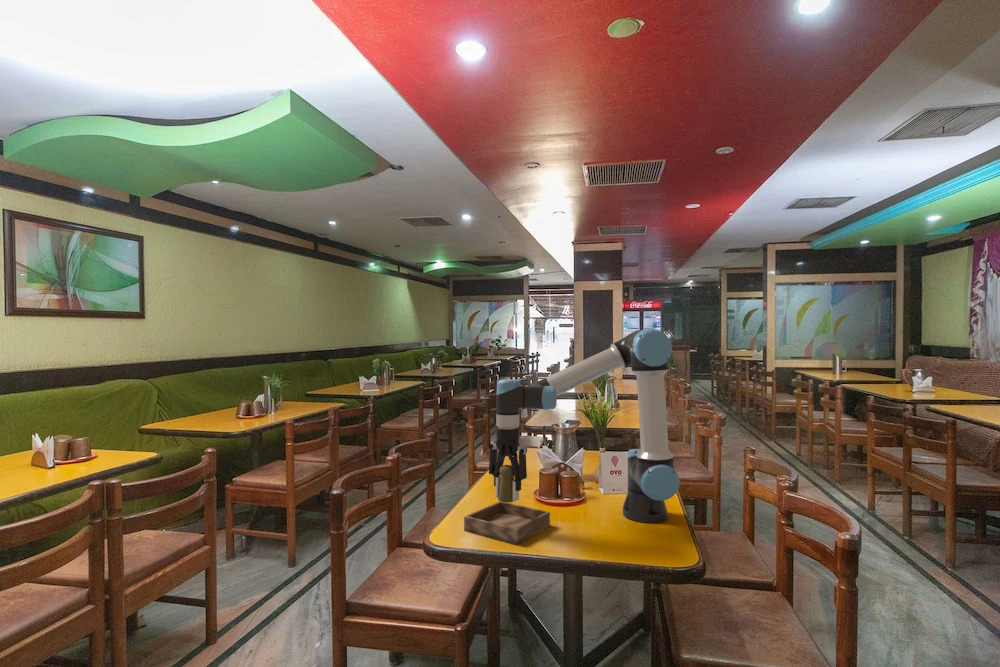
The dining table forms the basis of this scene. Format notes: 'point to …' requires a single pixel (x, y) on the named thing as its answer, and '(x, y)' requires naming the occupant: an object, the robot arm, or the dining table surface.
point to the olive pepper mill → (506, 484)
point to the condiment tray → (507, 522)
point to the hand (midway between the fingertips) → (507, 498)
